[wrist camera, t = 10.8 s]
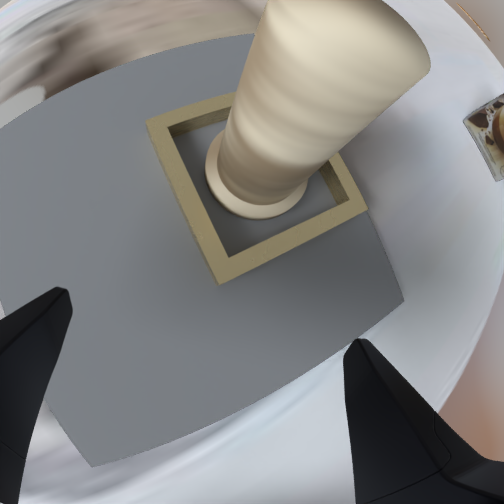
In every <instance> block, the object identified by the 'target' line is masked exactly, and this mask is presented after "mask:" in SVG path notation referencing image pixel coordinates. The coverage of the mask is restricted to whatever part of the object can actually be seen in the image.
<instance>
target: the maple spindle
mask: <svg viewBox="0 0 504 504" xmlns="http://www.w3.org/2000/svg"><path fill="white" fill-rule="evenodd" d="M430 67H431V63H430V57H429V54H428V52H427V49H426V47H425V45H424V43H423V42H422V40H421V39H420V37H419V36H418V34H417V33H416V32H415V30H414V29H413V28H412V27H411V26H410V25H409V24H408V22H407V21H406V20H405V19H404V18H403V17H402V16H401V15H399V14H398V13H397V12H396V11H395V10H394V9H393V8H391V7H390V6H389V5H387V4H386V3H385V2H383V1H382V0H268V1H267V4H266V6H265V9H264V12H263V14H262V17H261V20H260V22H259V25H258V28H257V31H256V34H255V36H254V39H253V42H252V45H251V48H250V51H249V54H248V57H247V60H246V63H245V66H244V69H243V72H242V75H241V78H240V81H239V84H238V87H237V91H236V94H235V97H234V100H233V104H232V107H231V110H230V114H229V117H228V120H227V124H226V127H225V129H224V130H223V131H221V132H220V133H219V134H218V135H217V136H216V137H215V138H214V140H213V141H212V143H211V144H210V147H209V149H208V152H207V156H206V161H205V169H204V170H205V180H206V184H207V186H208V189H209V191H210V193H211V195H212V196H213V198H214V199H215V200H216V201H217V202H218V204H219V205H220V206H222V207H223V208H224V209H225V210H227V211H228V212H230V213H231V214H233V215H235V216H238V217H241V218H243V219H248V220H256V221H260V220H269V219H272V218H276V217H278V216H280V215H282V214H283V213H285V212H286V211H288V210H289V209H290V208H292V207H293V206H294V205H295V204H296V203H297V202H298V201H299V200H300V199H301V197H302V196H303V194H304V192H305V190H306V187H307V183H308V178H309V177H310V176H311V175H312V174H314V173H315V172H316V171H317V170H318V169H319V168H320V167H321V166H322V165H324V164H325V163H326V162H327V161H328V160H329V159H330V158H331V157H333V156H334V155H335V154H336V153H337V152H338V151H339V150H340V149H342V148H343V147H344V146H345V145H346V144H347V143H348V142H349V141H351V140H352V139H353V138H354V137H355V136H356V135H357V134H359V133H360V132H361V131H362V130H363V129H364V128H365V127H367V126H368V125H369V124H370V123H371V122H372V121H373V120H375V119H376V118H377V117H378V116H379V115H380V114H381V113H383V112H384V111H385V110H386V109H387V108H388V107H390V106H391V105H392V104H393V103H394V102H395V101H396V100H398V99H399V98H400V97H401V96H402V95H403V94H405V93H406V92H407V91H408V90H409V89H410V88H412V87H413V86H414V85H415V84H416V83H417V82H419V81H420V80H421V79H422V78H423V77H425V76H426V75H427V74H428V72H429V71H430Z"/></svg>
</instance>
